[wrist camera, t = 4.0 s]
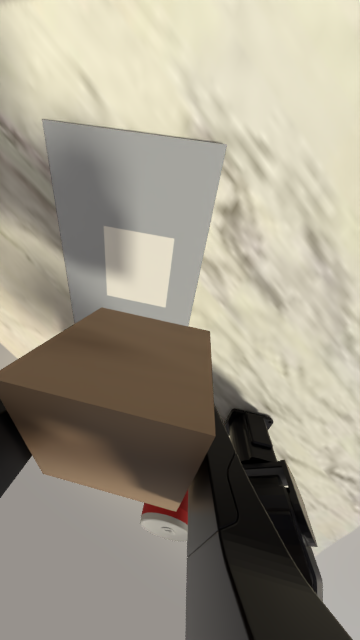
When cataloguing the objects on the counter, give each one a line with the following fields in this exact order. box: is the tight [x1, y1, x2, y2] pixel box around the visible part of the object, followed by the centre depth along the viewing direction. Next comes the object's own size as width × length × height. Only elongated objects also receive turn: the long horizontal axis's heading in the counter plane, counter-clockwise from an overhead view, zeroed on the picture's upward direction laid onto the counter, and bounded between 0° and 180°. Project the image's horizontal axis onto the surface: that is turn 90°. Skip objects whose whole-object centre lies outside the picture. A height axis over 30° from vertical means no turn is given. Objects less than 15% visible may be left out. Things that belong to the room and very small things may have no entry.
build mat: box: [42, 119, 227, 326], centre depth 17 cm, size 20×16×1 cm
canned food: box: [140, 490, 188, 542], centre depth 28 cm, size 8×8×11 cm
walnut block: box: [0, 307, 216, 512], centre depth 7 cm, size 6×6×5 cm
